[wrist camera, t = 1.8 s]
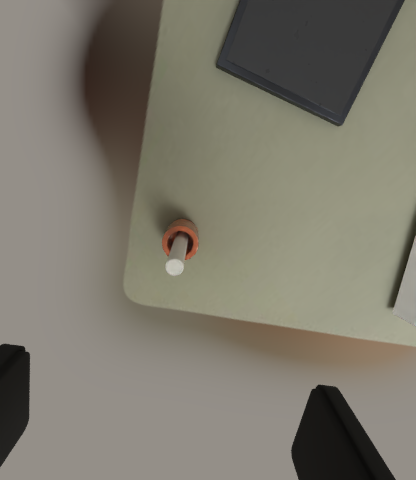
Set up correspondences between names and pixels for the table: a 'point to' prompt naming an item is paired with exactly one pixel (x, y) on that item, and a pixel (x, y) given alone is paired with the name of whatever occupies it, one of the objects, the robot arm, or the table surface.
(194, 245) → the pen holder
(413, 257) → the bracket
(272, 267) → the table surface
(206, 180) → the table surface
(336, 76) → the tablet
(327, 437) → the robot arm
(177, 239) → the stylus
